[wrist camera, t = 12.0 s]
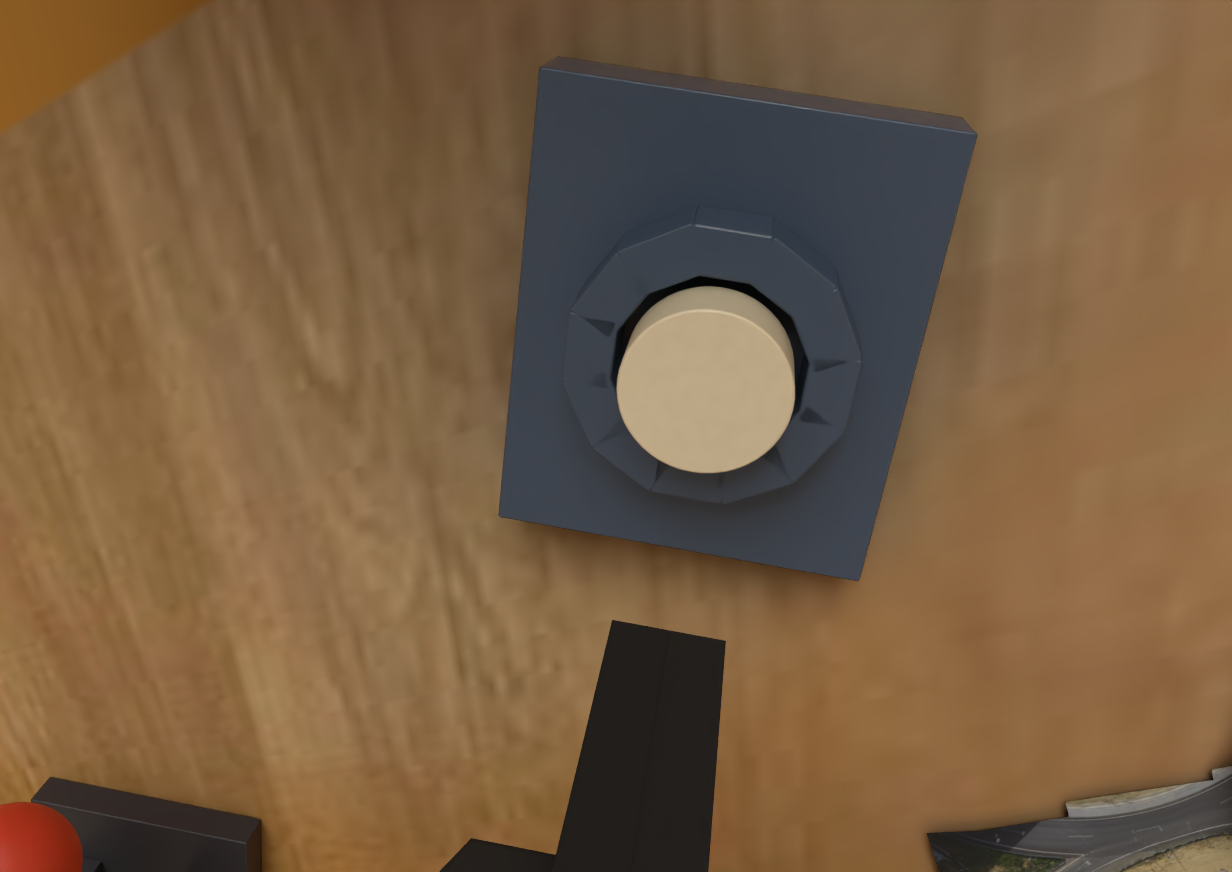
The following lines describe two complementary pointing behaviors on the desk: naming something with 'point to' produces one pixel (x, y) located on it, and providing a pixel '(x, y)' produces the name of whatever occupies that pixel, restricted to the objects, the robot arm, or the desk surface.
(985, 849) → the aerial photo print
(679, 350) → the button
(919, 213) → the button housing
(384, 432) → the desk surface
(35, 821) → the red ball lever
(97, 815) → the switch bracket
